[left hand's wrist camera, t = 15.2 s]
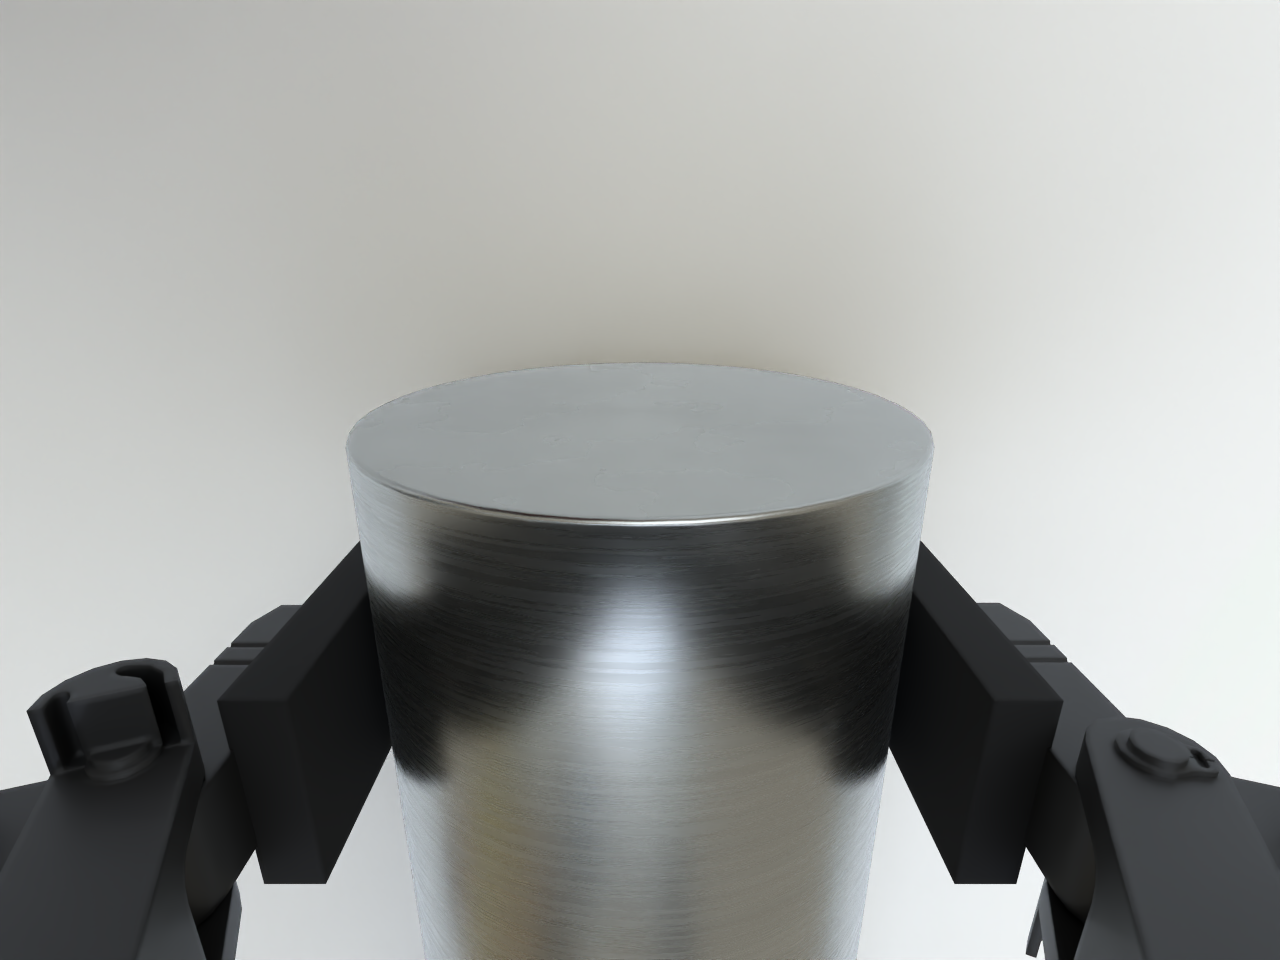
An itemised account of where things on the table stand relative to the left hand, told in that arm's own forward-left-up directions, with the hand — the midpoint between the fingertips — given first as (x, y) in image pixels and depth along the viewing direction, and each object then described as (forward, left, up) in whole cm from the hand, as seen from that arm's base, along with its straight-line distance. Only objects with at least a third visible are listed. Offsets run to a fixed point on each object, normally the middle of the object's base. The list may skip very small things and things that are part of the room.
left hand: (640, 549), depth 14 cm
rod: (+9, -5, 0) cm, 10 cm away
